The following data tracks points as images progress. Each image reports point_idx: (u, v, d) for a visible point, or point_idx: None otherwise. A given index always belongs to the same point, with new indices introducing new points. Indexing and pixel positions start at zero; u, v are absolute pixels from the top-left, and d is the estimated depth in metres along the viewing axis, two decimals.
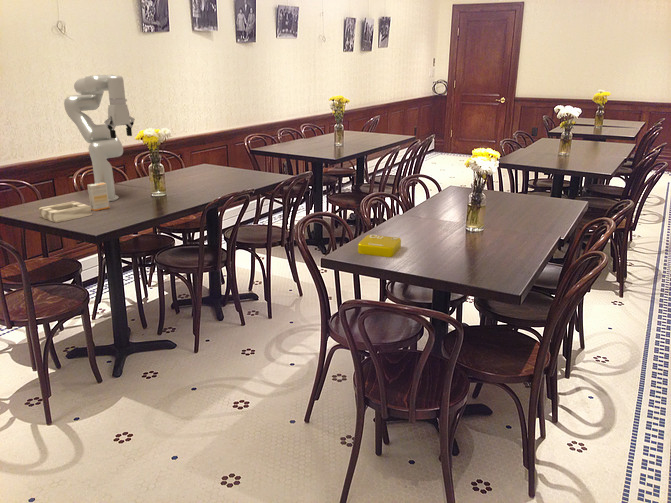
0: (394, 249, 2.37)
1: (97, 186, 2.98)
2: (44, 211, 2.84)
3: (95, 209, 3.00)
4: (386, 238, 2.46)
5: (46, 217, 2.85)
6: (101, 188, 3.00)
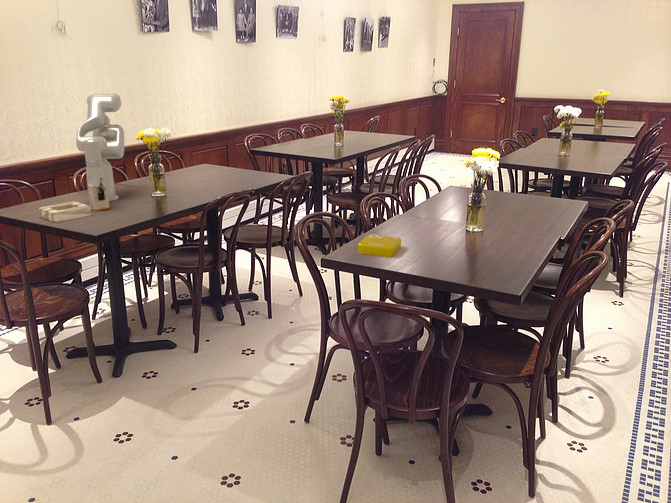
0: (394, 249, 2.37)
1: None
2: (44, 211, 2.84)
3: (95, 209, 3.00)
4: (387, 238, 2.46)
5: (46, 217, 2.85)
6: None
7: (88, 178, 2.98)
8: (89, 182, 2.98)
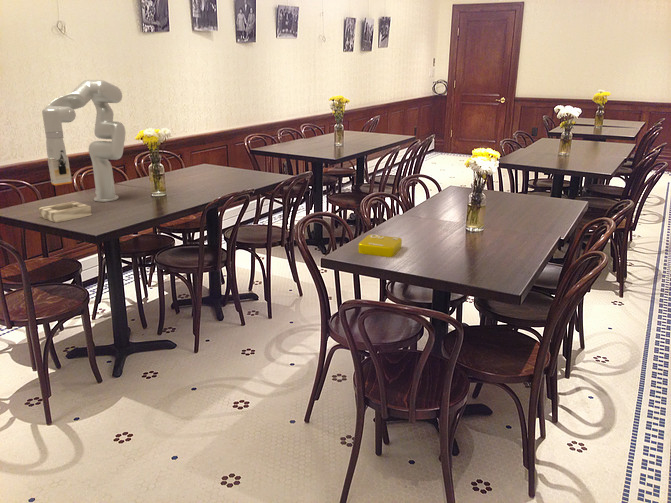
0: (394, 249, 2.37)
1: None
2: (44, 211, 2.84)
3: (56, 184, 2.82)
4: (387, 238, 2.46)
5: (46, 217, 2.85)
6: None
7: (48, 150, 2.80)
8: (49, 155, 2.80)
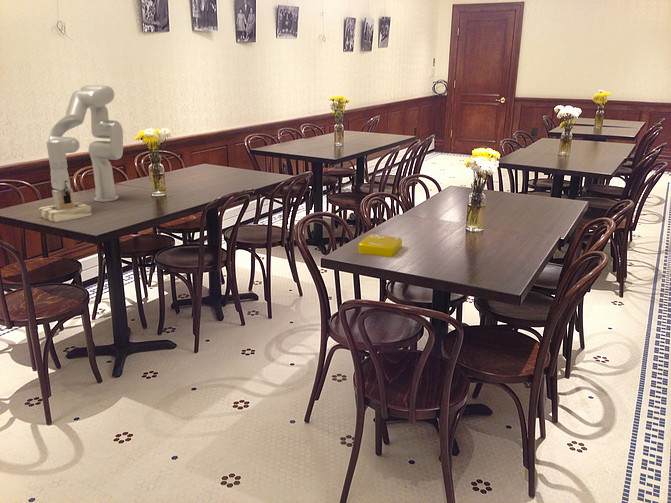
0: (394, 249, 2.37)
1: (62, 191, 2.85)
2: (44, 211, 2.84)
3: None
4: (387, 238, 2.46)
5: (46, 217, 2.85)
6: None
7: (52, 181, 2.85)
8: (53, 185, 2.85)
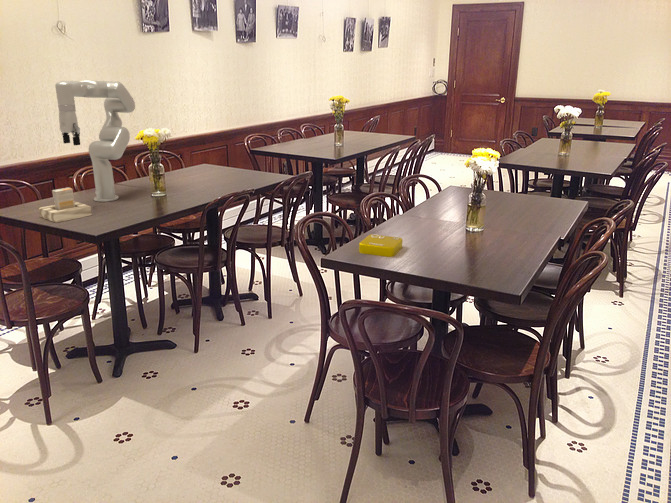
0: (395, 249, 2.37)
1: (62, 191, 2.85)
2: (44, 211, 2.84)
3: None
4: (388, 238, 2.46)
5: (46, 217, 2.85)
6: (67, 194, 2.87)
7: (61, 124, 2.88)
8: (62, 128, 2.88)
